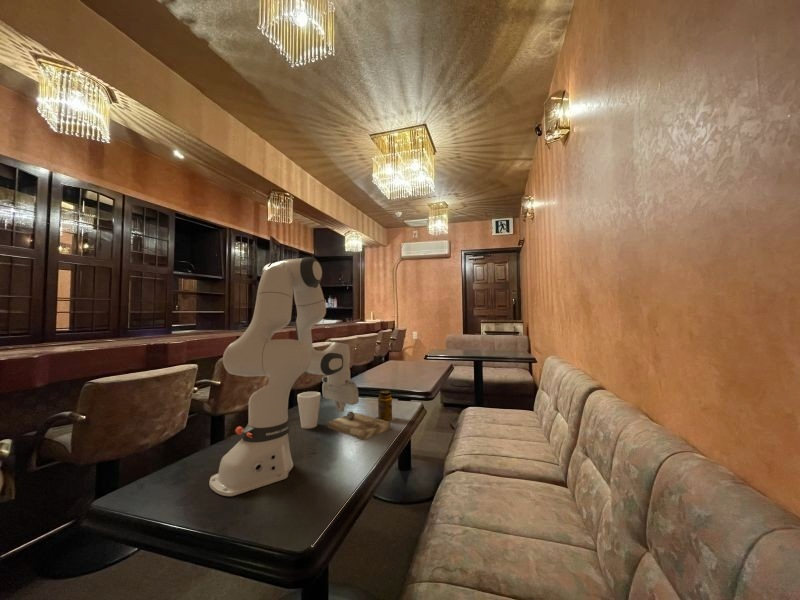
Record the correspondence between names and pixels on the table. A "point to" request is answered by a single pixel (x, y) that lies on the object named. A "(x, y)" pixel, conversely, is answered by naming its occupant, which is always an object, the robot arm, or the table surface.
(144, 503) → the table surface
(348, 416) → the ball
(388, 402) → the condiment
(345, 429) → the wooden board
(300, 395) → the foam cup
